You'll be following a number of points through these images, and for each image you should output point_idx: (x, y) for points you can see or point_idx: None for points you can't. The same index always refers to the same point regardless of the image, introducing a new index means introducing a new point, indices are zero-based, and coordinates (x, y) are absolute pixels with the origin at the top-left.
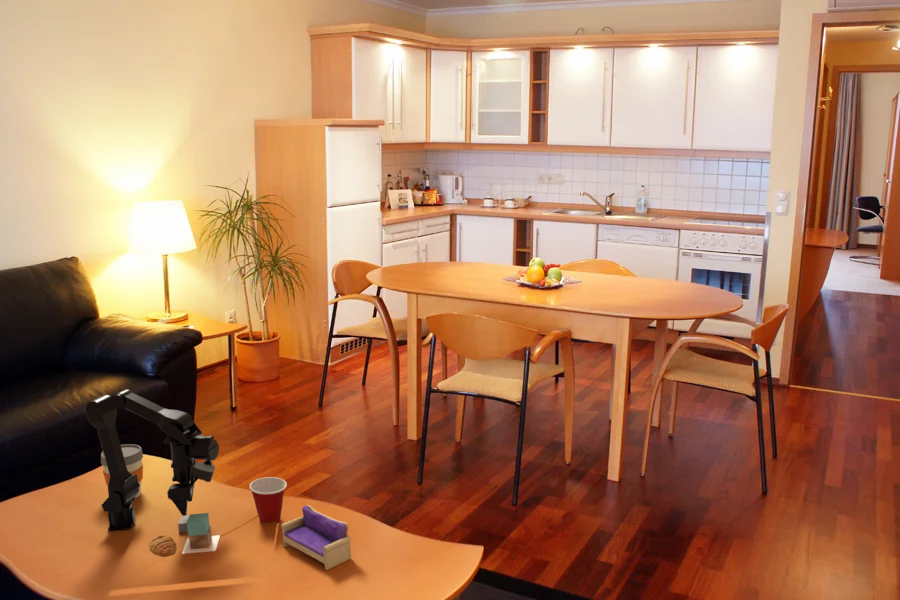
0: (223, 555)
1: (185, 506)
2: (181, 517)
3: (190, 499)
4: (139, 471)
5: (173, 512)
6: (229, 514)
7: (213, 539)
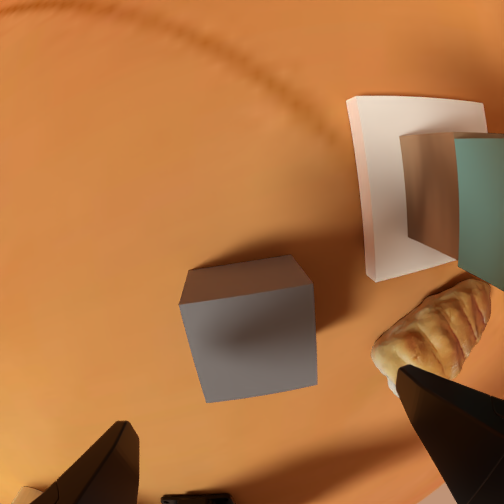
0: (470, 74)
1: (485, 402)
2: (227, 399)
3: (127, 438)
4: None
5: (76, 422)
6: (36, 156)
7: (401, 126)
